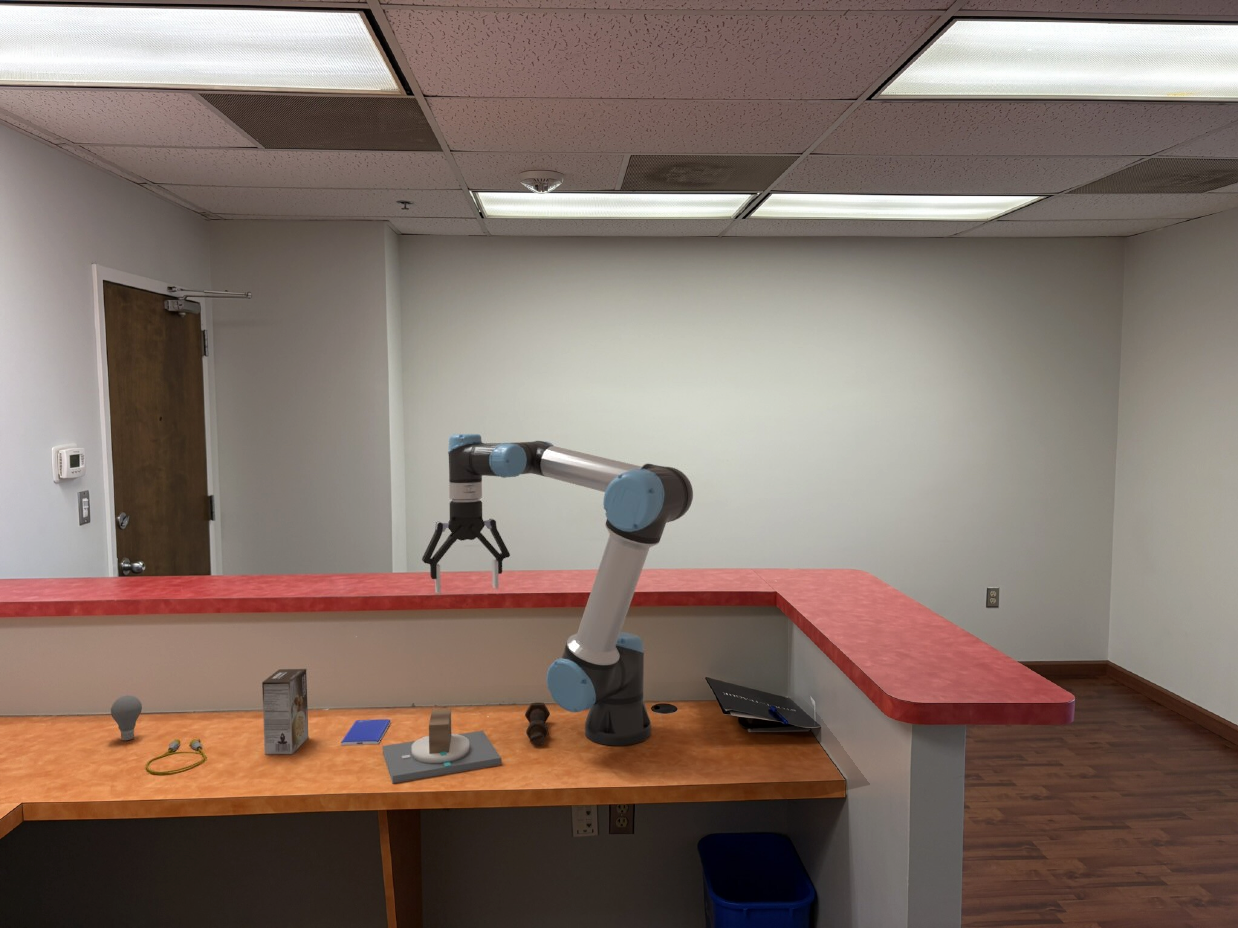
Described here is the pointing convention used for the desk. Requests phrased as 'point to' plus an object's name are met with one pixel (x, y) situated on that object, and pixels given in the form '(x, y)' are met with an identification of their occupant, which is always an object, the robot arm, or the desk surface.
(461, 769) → the dial plate
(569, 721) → the desk surface
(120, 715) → the light bulb
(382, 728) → the hard drive
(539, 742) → the bolt
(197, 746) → the extension cord
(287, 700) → the coffee box
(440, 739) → the dial
